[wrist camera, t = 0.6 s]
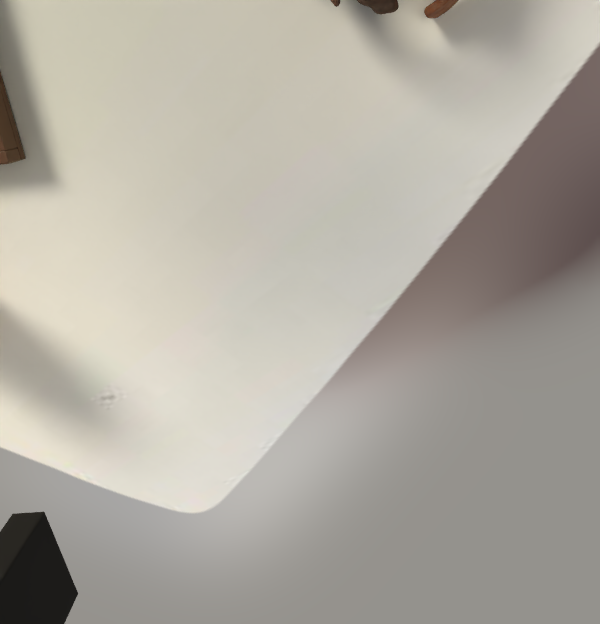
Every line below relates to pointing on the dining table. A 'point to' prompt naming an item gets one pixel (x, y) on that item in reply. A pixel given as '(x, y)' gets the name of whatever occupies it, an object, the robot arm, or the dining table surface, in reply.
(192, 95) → the dining table surface
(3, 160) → the tray
